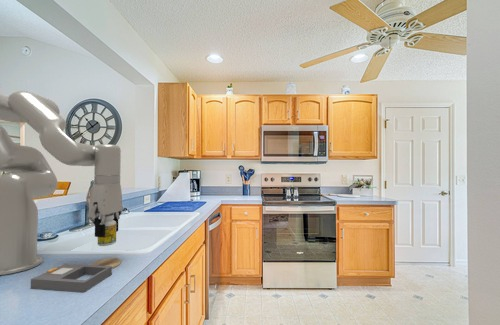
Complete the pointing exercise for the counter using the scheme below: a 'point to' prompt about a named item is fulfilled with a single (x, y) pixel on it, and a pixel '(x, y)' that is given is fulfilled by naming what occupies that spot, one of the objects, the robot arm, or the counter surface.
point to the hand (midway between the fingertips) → (106, 233)
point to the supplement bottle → (108, 231)
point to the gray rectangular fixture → (71, 277)
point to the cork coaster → (108, 262)
